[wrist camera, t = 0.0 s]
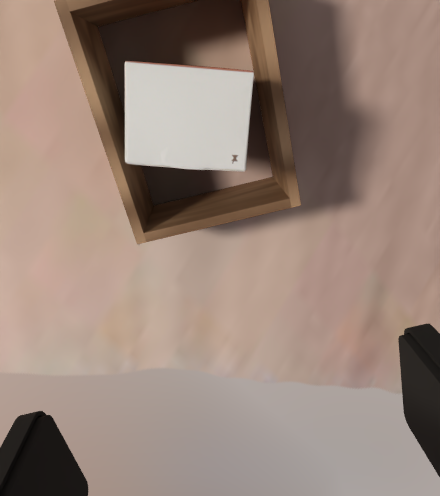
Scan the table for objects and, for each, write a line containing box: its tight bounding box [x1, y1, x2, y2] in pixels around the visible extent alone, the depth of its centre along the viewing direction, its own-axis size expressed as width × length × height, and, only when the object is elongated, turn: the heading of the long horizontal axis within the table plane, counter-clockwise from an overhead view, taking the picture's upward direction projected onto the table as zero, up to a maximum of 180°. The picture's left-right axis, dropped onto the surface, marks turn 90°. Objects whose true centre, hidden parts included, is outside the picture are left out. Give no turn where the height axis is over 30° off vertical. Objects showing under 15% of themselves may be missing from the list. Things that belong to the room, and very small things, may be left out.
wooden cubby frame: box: [54, 0, 301, 244], centre depth 33 cm, size 18×14×8 cm
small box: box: [125, 61, 254, 171], centre depth 31 cm, size 8×6×13 cm
